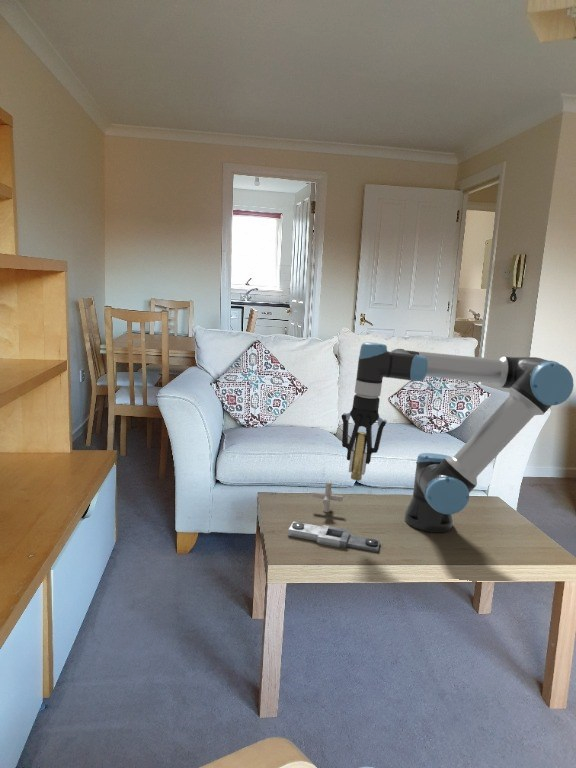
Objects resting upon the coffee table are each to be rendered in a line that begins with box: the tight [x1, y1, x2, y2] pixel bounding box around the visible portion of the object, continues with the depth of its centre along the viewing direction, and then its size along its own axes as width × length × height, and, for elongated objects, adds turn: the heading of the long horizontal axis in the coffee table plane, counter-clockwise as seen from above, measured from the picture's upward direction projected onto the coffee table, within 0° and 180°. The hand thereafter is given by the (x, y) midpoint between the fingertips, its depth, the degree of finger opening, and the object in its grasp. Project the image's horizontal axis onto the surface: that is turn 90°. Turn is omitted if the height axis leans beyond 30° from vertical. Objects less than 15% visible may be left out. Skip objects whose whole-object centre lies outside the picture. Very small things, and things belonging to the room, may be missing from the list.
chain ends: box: [287, 521, 381, 553], centre depth 155 cm, size 26×8×3 cm, turn 75°
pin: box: [350, 431, 367, 481], centre depth 157 cm, size 3×3×14 cm
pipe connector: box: [311, 481, 344, 513], centre depth 175 cm, size 10×10×10 cm
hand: (356, 472), depth 158 cm, fingers closed on pin, 3 cm apart
